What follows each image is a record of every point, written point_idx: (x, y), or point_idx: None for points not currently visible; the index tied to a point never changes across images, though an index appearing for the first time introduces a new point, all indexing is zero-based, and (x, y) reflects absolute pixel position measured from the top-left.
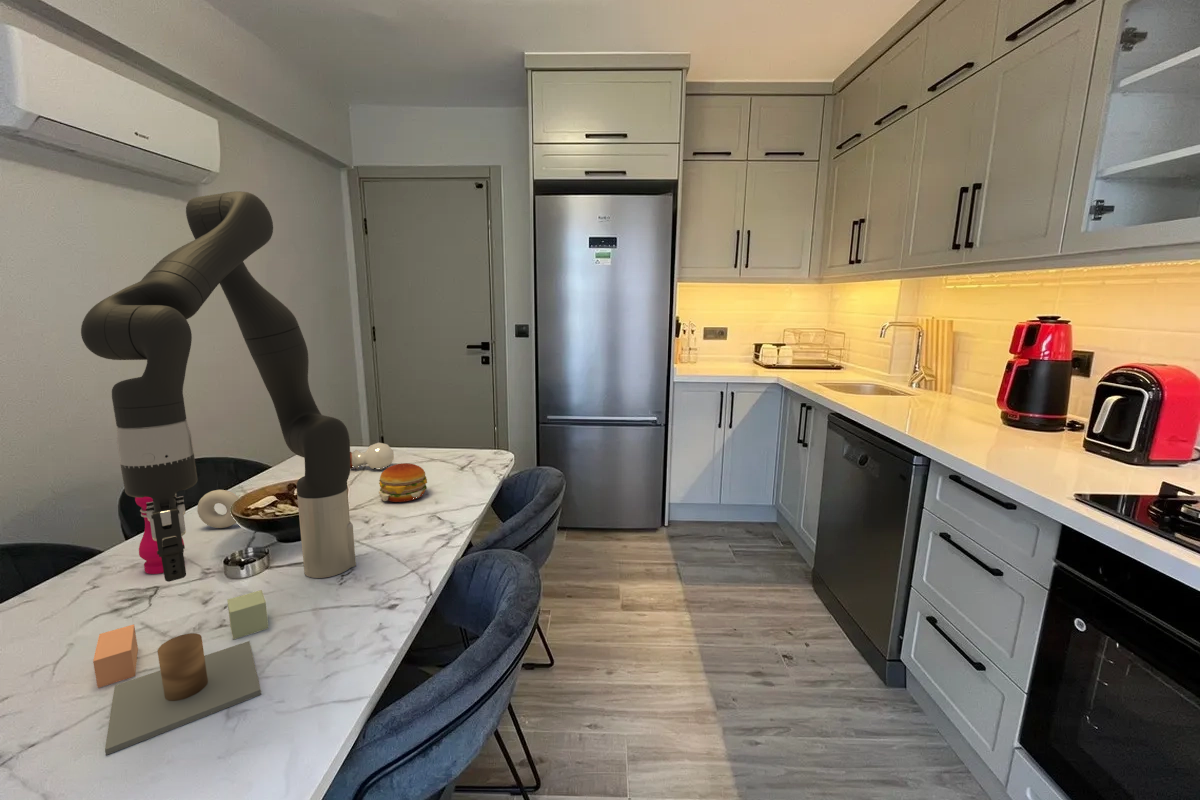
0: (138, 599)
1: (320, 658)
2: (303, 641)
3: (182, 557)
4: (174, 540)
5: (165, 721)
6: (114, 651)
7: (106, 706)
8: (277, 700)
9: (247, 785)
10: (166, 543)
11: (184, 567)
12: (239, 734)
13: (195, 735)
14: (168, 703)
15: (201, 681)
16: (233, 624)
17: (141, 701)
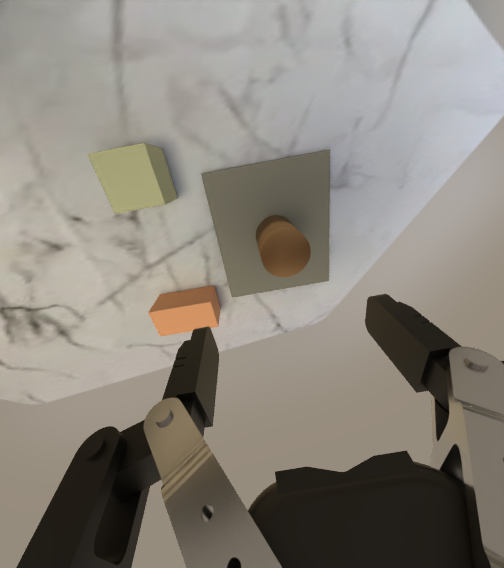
0: (37, 320)
1: (292, 53)
2: (226, 84)
3: (428, 333)
4: (207, 375)
5: (321, 244)
6: (206, 314)
7: (254, 294)
8: (352, 127)
9: (462, 155)
10: (212, 385)
11: (400, 308)
12: (382, 170)
13: (350, 214)
14: None
15: (288, 220)
16: (170, 198)
17: None
